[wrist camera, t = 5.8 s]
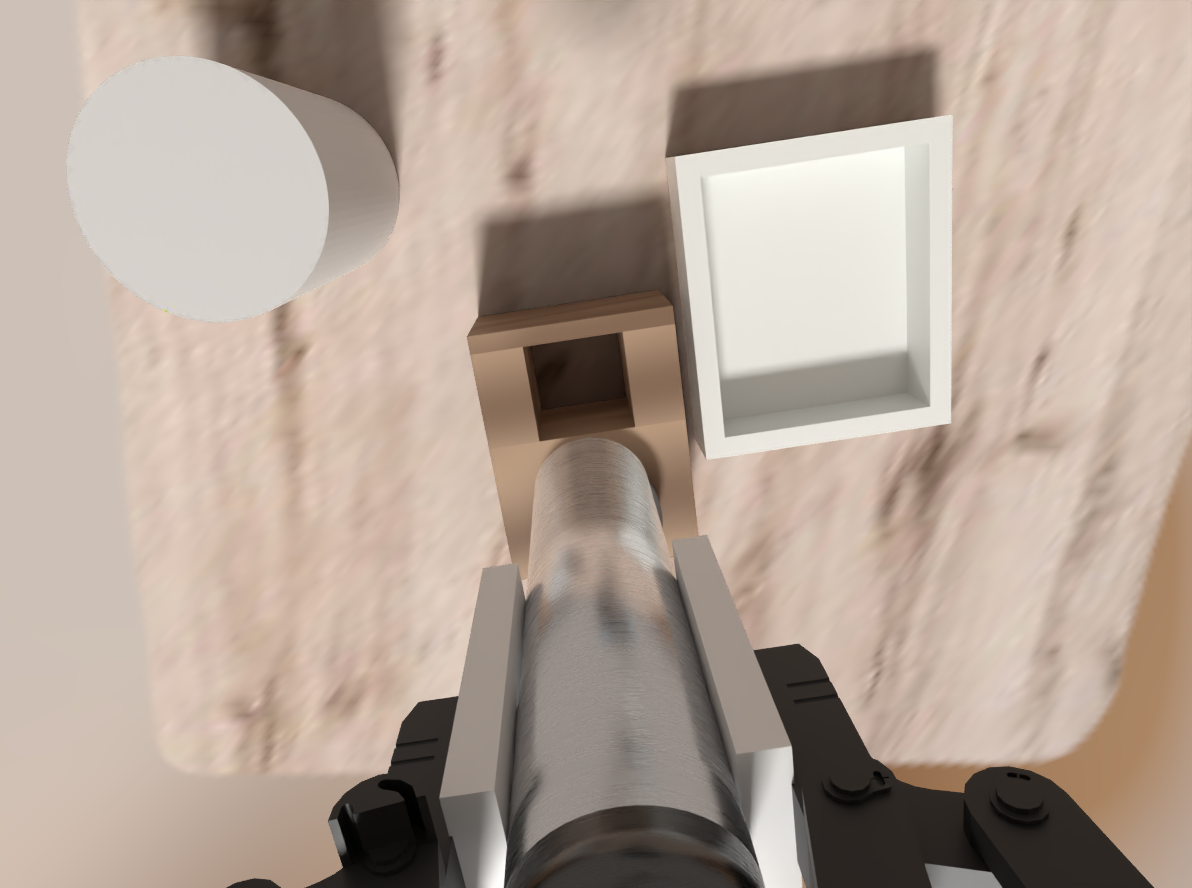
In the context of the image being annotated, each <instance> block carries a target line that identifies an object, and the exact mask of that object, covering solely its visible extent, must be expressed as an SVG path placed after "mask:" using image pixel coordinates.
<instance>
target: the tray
mask: <svg viewBox="0 0 1192 888" xmlns="http://www.w3.org/2000/svg"><path fill="white" fill-rule="evenodd" d="M665 160H666V169H667V178H668V188H669V197H670V206H671V216H672V225H673V234H674V243H675V253H676V262H677V271H678V281H679V290H680V299H681V308H682V318H683V327H684V336H685V346H686V355H687V364H688V373H689V383H690V392H691V401H692V411H693V420H694V429H695V438H696V441H697V443H698V445H699V447H700V449H701V451H702V452H703V454H704V456H705V458H706V460H709V459H716V458H723V457H729V456H736V455H743V454H749V453H756V452H763V451H769V450H776V449H783V448H789V447H796V446H802V445H809V444H816V443H822V442H829V441H836V440H842V439H849V438H856V437H862V436H869V435H876V434H882V433H889V432H896V431H902V430H909V429H916V428H922V427H929V426H935V425H942V424H949V423H951V305H952V115H945V116H939V117H932V118H925V119H918V120H912V121H905V122H899V123H892V124H886V125H879V126H872V127H866V128H859V129H853V130H846V131H840V132H833V133H826V134H820V135H813V136H807V137H800V138H794V139H787V140H780V141H774V142H767V143H761V144H754V145H748V146H741V147H734V148H728V149H721V150H715V151H708V152H701V153H695V154H688V155H682V156H675V157H669V158H665Z"/></svg>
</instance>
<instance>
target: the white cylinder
mask: <svg viewBox="0 0 1192 888" xmlns="http://www.w3.org/2000/svg"><path fill="white" fill-rule="evenodd" d="M66 164H67V165H66V173H67V185H68V192H69V197H70V202H71V205H72V209H73V212H74V215H75V218H76V221H77V223H78V225H79V228H80V230H81V232H82V234H83V236H84V238H85V240H86V242H87V243H88V245H89V247H90V248H91V250H92V251H93V253H94V254H95V256H96V257H97V258H98V260H99V261H100V262H101V263H102V265H103V266H104V267H105V268H106V269H107V270H108V272H109V273H110V274H111V275H112V276H113V277H114V278H115V279H116V280H117V281H118V282H119V283H121V284H122V285H123V286H124V287H125V288H126V289H128V290H129V291H130V292H132V293H133V294H134V295H136V296H137V297H139V298H140V299H142V300H144V301H145V302H147V303H149V304H150V305H152V306H154V307H156V308H158V309H160V310H163V311H165V312H168V313H170V314H173V315H176V316H179V317H182V318H186V319H191V320H196V321H202V322H234V321H240V320H245V319H249V318H252V317H256V316H259V315H261V314H264V313H266V312H268V311H270V310H272V309H274V308H277V307H279V306H281V305H283V304H285V303H287V302H289V301H291V300H293V299H295V298H297V297H300V296H302V295H304V294H306V293H308V292H310V291H312V290H314V289H316V288H318V287H321V286H323V285H325V284H327V283H329V282H331V281H333V280H335V279H337V278H339V277H341V276H344V275H346V274H348V273H350V272H352V271H354V270H356V269H358V268H360V267H361V266H363V265H365V264H366V263H367V262H369V261H370V260H371V259H372V258H373V257H375V256H376V255H377V254H378V252H379V251H380V250H381V249H382V248H383V246H384V245H385V243H386V242H387V240H388V239H389V237H390V235H391V233H392V231H393V228H394V225H395V223H396V219H397V215H398V209H399V183H398V177H397V172H396V169H395V165H394V163H393V160H392V157H391V155H390V153H389V151H388V149H387V147H386V145H385V144H384V142H383V140H382V139H381V137H380V136H379V135H378V133H377V132H376V131H375V130H374V129H373V127H372V126H371V125H370V124H369V123H368V122H367V121H366V120H365V119H364V118H362V117H361V116H360V115H359V114H357V113H356V112H355V111H353V110H352V109H350V108H349V107H347V106H345V105H343V104H341V103H339V102H337V101H335V100H332V99H330V98H327V97H324V96H321V95H317V94H314V93H311V92H308V91H305V90H302V89H299V88H296V87H293V86H290V85H287V84H283V83H280V82H277V81H274V80H271V79H268V78H265V77H262V76H259V75H256V74H253V73H249V72H246V71H243V70H240V69H237V68H234V67H231V66H228V65H225V64H222V63H219V62H215V61H211V60H208V59H203V58H197V57H189V56H164V57H157V58H152V59H148V60H144V61H141V62H138V63H135V64H132V65H130V66H128V67H126V68H124V69H122V70H120V71H119V72H117V73H115V74H114V75H112V76H111V77H110V78H108V79H107V80H106V81H105V82H103V83H102V84H101V85H100V86H99V87H98V88H97V89H96V90H95V91H94V92H93V94H92V95H91V96H90V97H89V99H88V100H87V101H86V103H85V104H84V106H83V108H82V109H81V111H80V113H79V115H78V117H77V119H76V122H75V124H74V127H73V130H72V133H71V136H70V140H69V145H68V151H67V163H66Z"/></svg>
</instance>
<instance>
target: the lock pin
mask: <svg viewBox="0 0 1192 888" xmlns="http://www.w3.org/2000/svg"><path fill="white" fill-rule="evenodd" d="M504 888H765V884H764V881H763V877H762V874H761V870H760V867H759V863H758V860H757V856H756V853H755V850H754V846H753V843H752V839H751V836H750V832H749V829H748V825H747V822H746V819H745V816H744V813H743V811H742V807H741V804H740V800H739V797H738V793H737V790H736V786H735V783H734V779H733V776H732V772H731V769H730V765H729V762H728V758H727V755H726V751H725V748H724V744H723V741H722V737H721V734H720V730H719V727H718V723H717V720H716V716H715V713H714V709H713V706H712V702H711V699H710V695H709V692H708V688H707V685H706V681H705V678H704V674H703V671H702V667H701V664H700V660H699V657H698V653H697V650H696V646H695V643H694V639H693V636H692V632H691V629H690V625H689V622H688V618H687V615H686V611H685V608H684V604H683V601H682V597H681V594H680V590H679V587H678V583H677V579H676V574H675V571H674V568H673V564H672V561H671V557H670V554H669V550H668V547H667V543H666V540H665V536H664V533H663V529H662V526H661V522H660V519H659V515H658V512H657V508H656V505H655V501H654V498H653V494H652V491H651V487H650V484H649V480H648V477H647V474H646V471H645V469H644V467H643V465H642V463H641V462H640V460H639V459H638V458H637V457H636V456H635V455H634V454H633V452H631V451H630V450H629V449H628V448H626V447H625V446H623V445H621V444H619V443H617V442H615V441H612V440H608V439H604V438H594V437H590V438H581V439H577V440H574V441H571V442H568V443H566V444H564V445H562V446H561V447H559V448H558V449H556V450H555V451H554V452H552V453H551V454H550V455H549V456H548V458H547V459H546V460H545V461H544V463H543V464H542V466H541V468H540V470H539V472H538V474H537V477H536V481H535V488H534V501H533V514H532V527H531V540H530V553H529V566H528V578H527V591H526V604H525V617H524V630H523V643H522V656H521V669H520V682H519V695H518V708H517V721H516V734H515V747H514V760H513V773H512V786H511V799H510V812H509V825H508V838H507V851H506V864H505V877H504Z"/></svg>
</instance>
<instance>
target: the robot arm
mask: <svg viewBox="0 0 1192 888" xmlns="http://www.w3.org/2000/svg"><path fill="white" fill-rule="evenodd" d="M672 547H673V555H674V563H675V571H676V579H677V583H678V587H679V590H680V594H681V597H682V601H683V604H684V608H685V611H686V615H687V618H688V622H689V625H690V629H691V632H692V636H693V639H694V643H695V646H696V650H697V653H698V657H699V660H700V664H701V667H702V671H703V674H704V678H705V681H706V685H707V688H708V692H709V695H710V699H711V702H712V706H713V709H714V713H715V716H716V720H717V723H718V727H719V730H720V734H721V737H722V741H723V744H724V748H725V751H726V755H727V758H728V762H729V765H730V769H731V772H732V776H733V779H734V783H735V786H736V790H737V793H738V797H739V800H740V804H741V807H742V811H743V813H744V816H745V819H746V822H747V825H748V829H749V832H750V836H751V839H752V843H753V846H754V850H755V853H756V856H757V860H758V863H759V867H760V870H761V874H762V877H763V881H764V884H765V888H802V878H801V873H802V876H803V879H804V882H805V885H806V888H1154V887H1153V886H1152V885H1151V884H1150V883H1149V882H1148V881H1147V880H1146V878H1145V877H1144V876H1143V875H1142V874H1141V873H1140V872H1139V871H1138V870H1137V869H1136V868H1135V866H1134V865H1133V864H1132V863H1131V862H1130V861H1129V860H1128V859H1127V858H1126V857H1125V856H1124V855H1123V853H1122V852H1121V851H1120V850H1119V849H1118V848H1117V847H1116V846H1115V845H1114V844H1113V843H1112V841H1111V840H1110V839H1109V838H1108V837H1107V836H1106V835H1105V834H1104V833H1103V832H1102V831H1101V830H1100V829H1099V827H1098V826H1097V825H1096V824H1095V823H1094V822H1093V821H1092V820H1091V819H1090V818H1089V817H1088V815H1086V813H1085V812H1084V811H1083V810H1082V809H1081V808H1080V807H1079V806H1078V805H1077V803H1076V802H1075V801H1074V800H1073V799H1072V798H1071V797H1070V796H1069V795H1068V794H1067V793H1066V792H1065V791H1064V790H1062V789H1061V788H1060V787H1058V786H1057V785H1056V784H1055V783H1054V782H1053V781H1051V780H1050V779H1047V778H1045V777H1043V776H1041V775H1039V774H1036V773H1034V772H1032V771H1029V770H1024V769H1019V768H1014V767H1009V766H1008V767H989V768H987V769H985V770H982V771H980V772H977V773H975V774H973V776H972V777H971V778H970V779H969V780H968V781H967V783H966V784H965V791H964V793H959V792H950V791H940V790H931V789H926V788H920V787H915V786H912V785H910V784H907V783H904V782H901V781H899V780H897V779H896V777H895V776H894V774H893V772H892V771H891V770H890V769H888V768H887V767H886V766H884V765H883V764H882V763H881V762H879V761H878V760H875V759H873V758H872V757H871V756H870V754H869V753H868V751H867V749H866V747H865V745H864V743H863V741H862V739H861V737H860V736H859V734H858V732H857V730H856V728H855V726H854V724H853V722H852V720H851V719H850V717H849V715H848V713H847V711H846V709H845V707H844V705H843V703H842V702H841V700H840V698H838V695H837V692H836V690H835V688H834V686H833V685H832V683H831V682H830V681H829V677H828V675H827V673H826V671H825V669H824V668H823V666H822V664H821V662H820V660H819V659H818V658H817V657H816V656H814V655H813V654H812V653H810V652H809V651H808V650H806V649H805V648H804V647H802V646H801V645H800V644H793V645H787V646H780V647H773V648H766V649H760V650H753V649H752V646H751V644H750V641H749V639H748V636H747V634H746V631H745V629H744V626H743V624H742V621H741V619H740V616H739V614H738V611H737V609H736V606H735V604H734V601H733V599H732V596H731V594H730V591H729V589H728V587H727V584H726V582H725V579H724V577H723V574H722V572H721V569H720V567H719V564H718V562H717V559H716V557H715V554H714V552H713V549H712V547H711V544H710V542H709V539H708V537H707V535H703V536H696V537H689V538H683V539H676V540H672ZM525 604H526V601H525V596H524V591H523V586H522V581H521V576H520V571H519V566H518V563H515V564H509V565H502V566H495V567H489V568H483V571H482V576H481V582H480V587H479V592H478V597H477V603H476V608H475V613H474V618H473V624H472V629H471V634H470V639H469V645H468V650H467V655H466V660H465V666H464V671H463V676H462V681H461V687H460V692H459V696H456V697H450V698H443V699H436V700H429V701H423V702H418V704H417V705H416V706H415V707H414V708H413V710H412V711H411V712H410V713H409V715H408V716H407V717H406V718H405V720H404V721H403V722H402V724H401V728H400V732H399V735H398V739H397V742H396V748H395V749H394V753H393V756H392V760H391V766H390V767H389V770H388V774H381V775H377V776H375V777H372V778H370V779H367V780H365V781H362V782H360V783H359V784H358V785H356V786H355V787H353V788H352V789H350V790H349V791H347V792H346V793H345V794H344V795H343V796H342V798H341V799H340V800H339V801H338V802H337V803H336V805H335V806H334V807H333V809H332V812H331V815H330V817H329V820H328V823H329V826H330V829H331V832H332V835H333V838H334V841H335V844H336V847H337V851H338V854H339V857H340V860H341V863H342V866H343V868H342V869H341V870H339V871H338V872H337V873H336V874H334V875H332V876H330V877H328V878H326V879H324V880H322V881H320V882H318V883H315V884H313V885H311V886H308V887H306V888H504V877H505V864H506V851H507V838H508V825H509V812H510V799H511V786H512V773H513V760H514V747H515V734H516V721H517V708H518V695H519V682H520V669H521V656H522V643H523V630H524V617H525ZM227 888H281V887H279V886H278V885H276V884H275V883H274V882H272V881H271V880H266V879H255V878H254V879H250V880H246V881H242V882H237V883H234V884H232V885H231V886H229V887H227Z"/></svg>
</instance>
